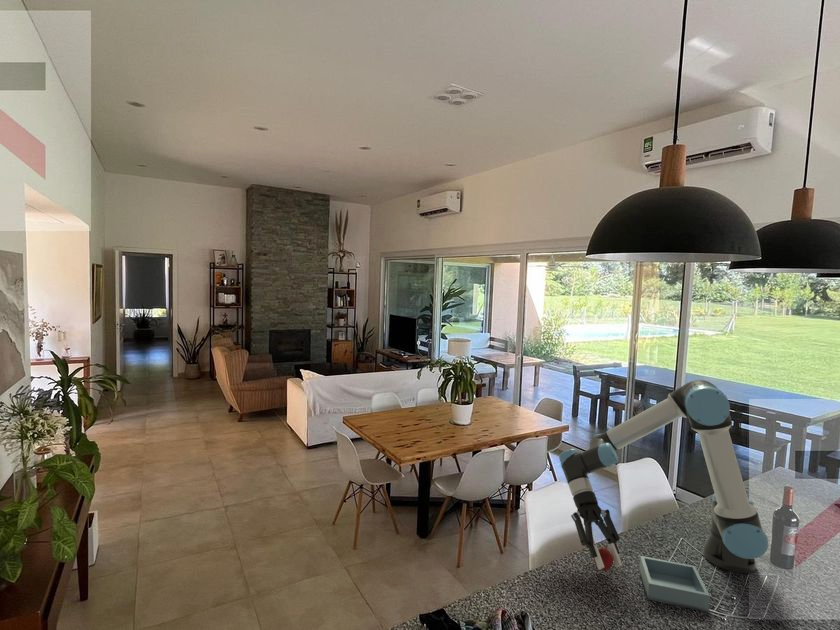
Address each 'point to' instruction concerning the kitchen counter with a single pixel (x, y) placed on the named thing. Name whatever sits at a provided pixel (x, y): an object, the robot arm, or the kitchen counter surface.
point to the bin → (673, 583)
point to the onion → (605, 558)
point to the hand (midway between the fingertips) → (610, 567)
